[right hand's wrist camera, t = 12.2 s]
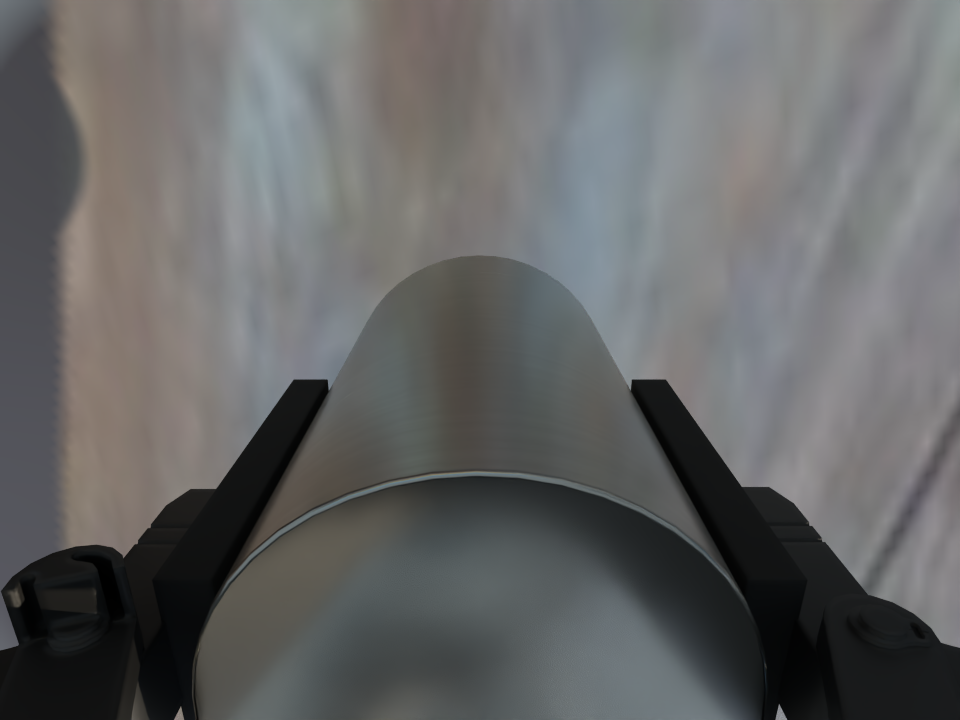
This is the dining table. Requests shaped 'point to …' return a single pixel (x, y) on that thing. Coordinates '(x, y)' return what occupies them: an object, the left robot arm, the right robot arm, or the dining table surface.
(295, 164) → the dining table surface
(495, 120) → the dining table surface
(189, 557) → the right robot arm
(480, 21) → the dining table surface
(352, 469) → the canister
